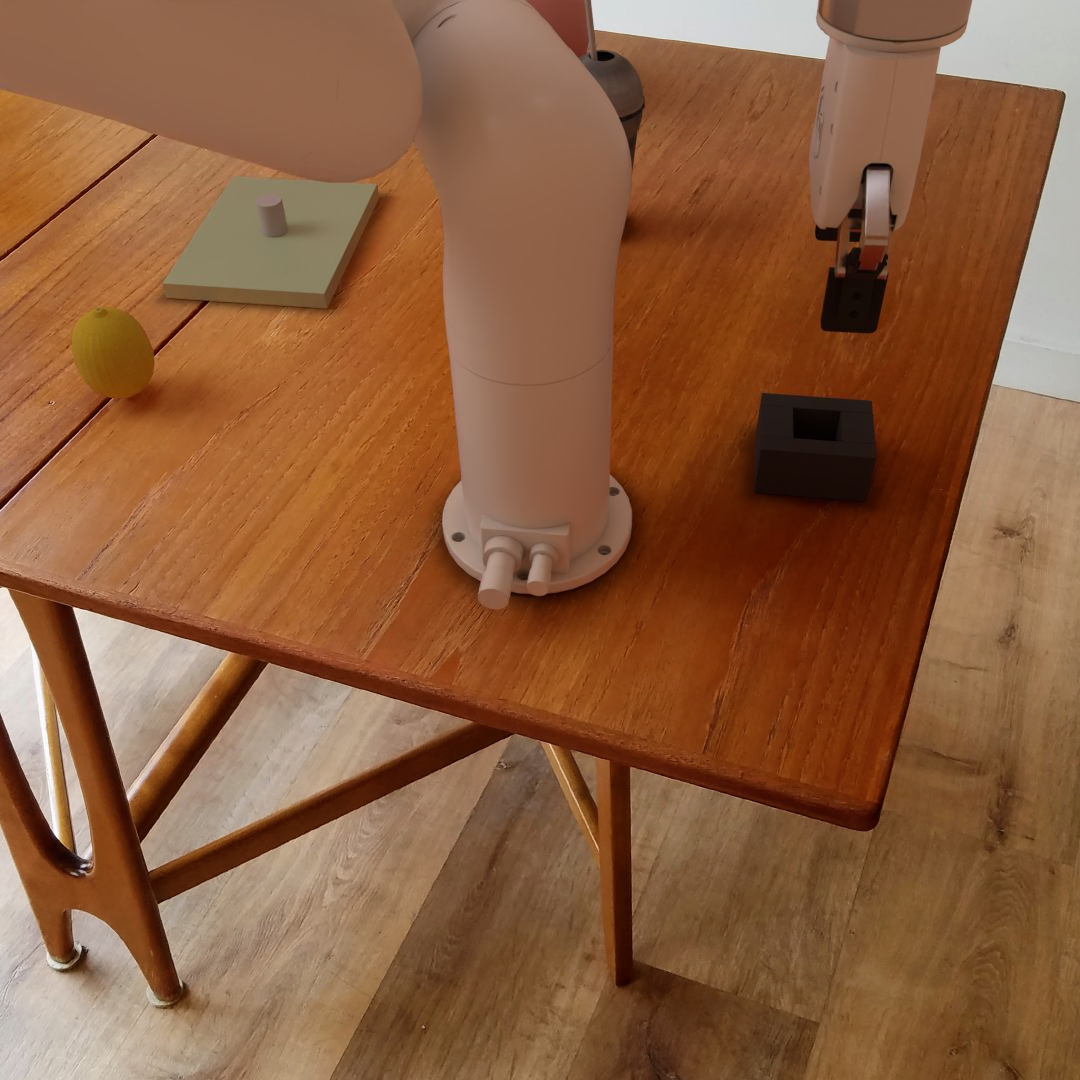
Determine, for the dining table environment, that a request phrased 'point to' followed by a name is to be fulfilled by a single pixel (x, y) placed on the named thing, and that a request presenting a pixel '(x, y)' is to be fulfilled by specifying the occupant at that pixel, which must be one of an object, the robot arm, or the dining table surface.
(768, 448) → the black hollow block
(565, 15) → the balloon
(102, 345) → the lemon
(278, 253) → the base pad
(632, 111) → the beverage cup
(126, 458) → the dining table surface
